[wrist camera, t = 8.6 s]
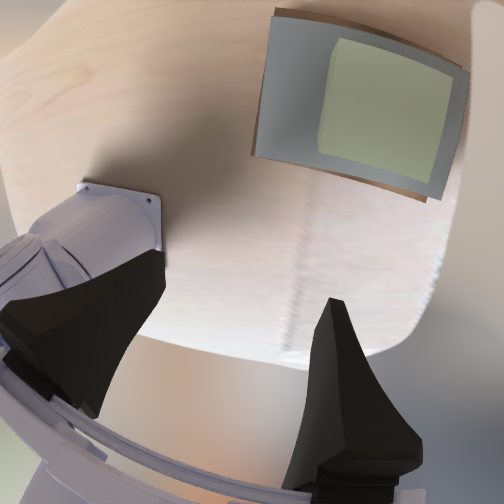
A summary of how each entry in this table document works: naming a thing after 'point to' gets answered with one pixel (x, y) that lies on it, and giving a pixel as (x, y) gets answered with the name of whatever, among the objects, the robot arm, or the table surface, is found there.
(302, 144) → the slate slab
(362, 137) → the sage cube
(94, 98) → the table surface
